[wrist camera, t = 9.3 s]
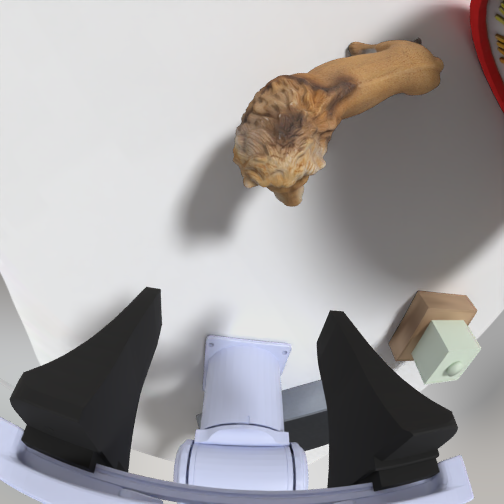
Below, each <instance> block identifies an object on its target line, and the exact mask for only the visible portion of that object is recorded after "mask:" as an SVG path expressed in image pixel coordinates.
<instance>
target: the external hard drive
mask: <svg viewBox="0 0 504 504" xmlns="http://www.w3.org/2000/svg"><path fill="white" fill-rule="evenodd" d="M282 404H283V419H284V432H288V433H289V443H294V442H296V443H297V444H299V446H300V447H301V448H302V449H303V450H304V451H307V450H310V449H314V448H317V447H320V446H323V445H326V444H329V427H328V412H327V406H326V400H325V395H324V390H323V385H322V380H318V381H315V382H312V383H308V384H304V385H301V386H297V387H294V388H290V389H287V390H283V391H282ZM196 418H197V422H198V426H199V429H200V426H201V418H202V414H199V415H197V416H196Z"/></svg>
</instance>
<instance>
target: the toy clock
mask: <svg viewBox="0 0 504 504" xmlns="http://www.w3.org/2000/svg"><path fill="white" fill-rule="evenodd" d="M470 25H471V31H472V38H473V42H474V45H475V49H476V52H477V56H478V59H479V61H480V64H481V66H482V69H483V72H484V75H485V77H486V79H487V81H488V83H489V85H490V87H491V90H492V92H493V94H494V96H495V98H496V99H497V101H498V103H499V105H500V107H501V109H502V111H503V113H504V0H471V3H470Z"/></svg>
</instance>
